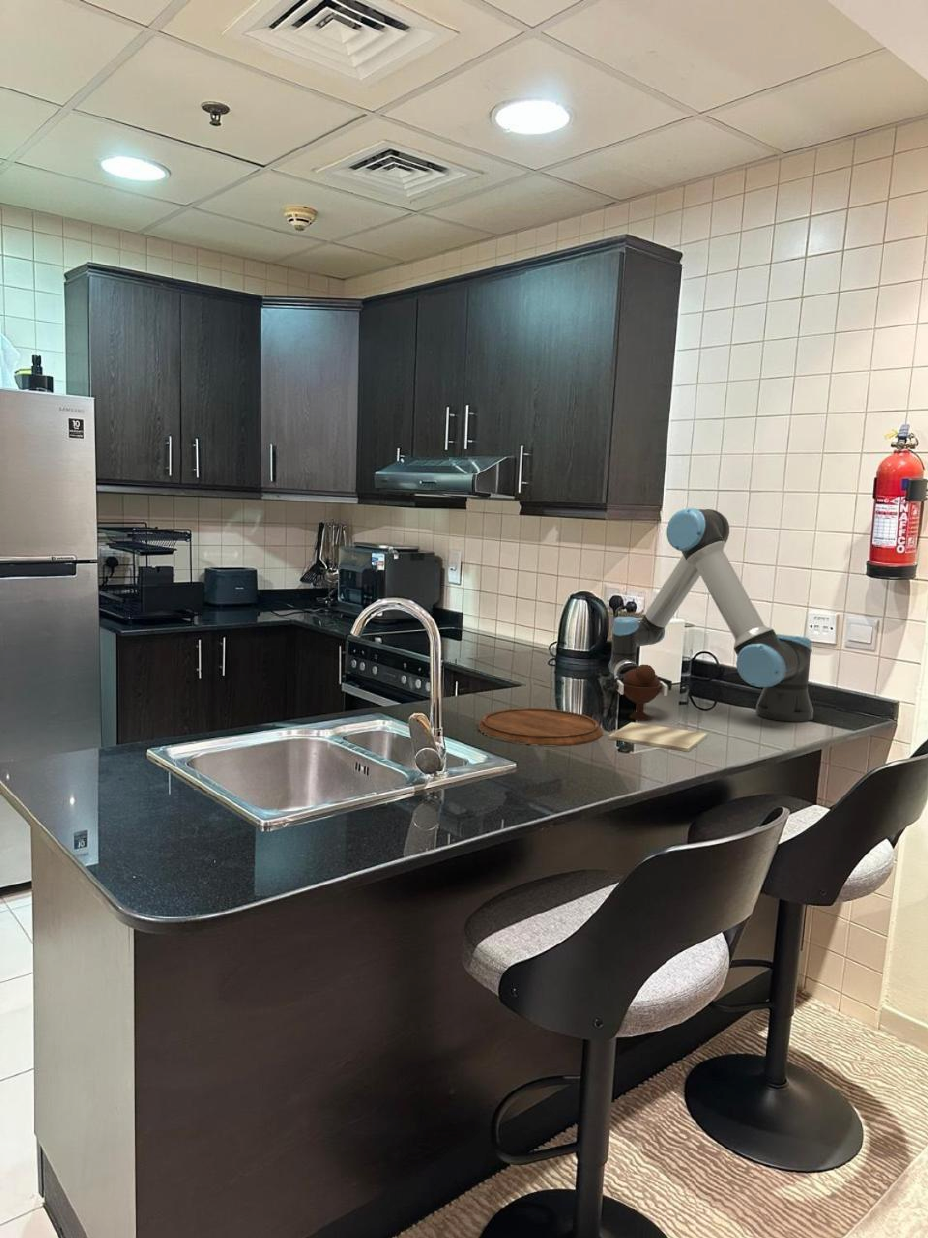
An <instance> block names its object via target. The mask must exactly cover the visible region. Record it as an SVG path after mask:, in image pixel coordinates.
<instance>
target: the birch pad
mask: <svg viewBox="0 0 928 1238" xmlns="http://www.w3.org/2000/svg"><path fill="white" fill-rule="evenodd" d="M706 738H708V733H706V732H700V731H692V730H687V729H686V730H685V729H680V728H673V727H665V726H659V725H653V724H646V723H641V722H633V721H631V722H629V723H628V724H626V725H624V726H623V727H620V729H617V730H616V731H614V732H612V733H611V734H608V736H607V739H608V740H612V741H613V740H614V741H619V742H626V743H632V744H639V745H645V746H650V747H656V748H657V747H658V748H663V749H669V750H676V751H682V752H690V751H691V750H692V749H694V748H695V747H697V745H699V744H700V743H702V741H704V740H706Z"/></svg>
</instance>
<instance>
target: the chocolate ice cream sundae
mask: <svg viewBox="0 0 928 1238" xmlns="http://www.w3.org/2000/svg"><path fill="white" fill-rule="evenodd" d="M638 666H639V667H638V668H636V669H632V670H630V671H629V672H628V673H626V675H625V676H624V680H623V682H622V683H623V684H624V690H623V695H624V696H626V698H628V699H629V700H630V701H632V702H634V703H635V704H636V711H635V712H632V713H631V714H630V715H629V719H632V720H637V721H647V720H650V719H651V717H650V716H649V715H648V714H647V713H646V712H644V706H645V705H646V704H647V703H650V702H651V701H653V700H654V699H655V698H656V697H657V696H659V694H660V693H661V692H660V691H661V688H662V685H661V684H660V682H659V679H658V678H657V677H656V675H657V674H656V672H655V669H654V668H653V667H652V666H651V665H650V664H640V665H638Z"/></svg>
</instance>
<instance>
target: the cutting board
mask: <svg viewBox="0 0 928 1238" xmlns="http://www.w3.org/2000/svg"><path fill="white" fill-rule="evenodd" d="M478 727H479V729H481V730H482V731H483V732H484V733H486V734H489V735H491V736H493V737H500V738H503V739H506V740H509V741H514V742H519V743H529V744H538V745H557V746H556V747H570V746H579V745H585V744H589V743H593V742H595V741H597V740H599V739H601V738H602V737H603V734H604V731H603V729H602V727H601V725H600V724H599V722H598V721H597V720H596V719H595V718H592V717H590V716H588V715H585V714H582V713H578V712H573V711H568V710H562V709H561V710H560V709H555V708H554V709H553V708H541V707H540V708H538V707H536V708H535V707H530V708H529V707H528V708H527V707H523V708H522V707H520V708H518V707H517V708H508V709H501V710H495V711H491V712H489V713H486V714H485V715H484V716H483V717H482V718H481V719H480V721H479V722H478V723H477V728H478ZM558 745H559V746H558ZM560 745H561V746H560Z"/></svg>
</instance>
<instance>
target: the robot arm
mask: <svg viewBox="0 0 928 1238" xmlns="http://www.w3.org/2000/svg"><path fill="white" fill-rule="evenodd" d="M665 531H666V532H665V533H666V538H667V542H668V543H669V545H670V546H671V547H672V548H673V549H675V550H676V551H679V552H681V553H682V556H681V558H680V559H679V561H678V563H676V565H675V567H674V569H673V570H672V571H671V573H670V574H669V576H668V578H667V579H666V581H665V582H664V583H663V585H662V586H661V588H660V590H659V592H658V593H657V594H656V596H655V598H654V599H653V601H652V602H651V604H650V606H649V607H648V608H647V611H646V612H645V613H644V615H643V616H642V617H641V619H640V621H639V620H638V619H637V618H636V617H631V616H630V617H629V616H618V617H615V618H614V619H613V620H612V621H613V622H612V629H611V655H610V660H609V662H608V670H609V672H610V673H609V674H608V676H607V677H606V678H605V679H604V689H610V688H611V692H616V691H617V693H619V694H620V696H621V695H624V693H623V690H624V684H623V683H622V682H623V680H624V676H625V675H626V673H628V672H629V671H630V670H632V669H636V668H638V667H639V666H640V665H638V664H637V653H638V652H637V651H638V650H637V649H638V648H639V647H644V646H653V645H656V644H658V643H660V642H662V640H664V638H665V635H666V629H665V628H666V626H667V625H668V624H669V622H670V621H671V619H672V618H673V617H674V615H675V613H676V612H677V611H678V609H679V608H680V606H681V605H682V603H683V601H685V599H686V597H687V595H689V593H690V591H691V590H692V588H693V586H694V585H695V584H696V582H698V579H699V578H700V577H701V579H702V582H703V583H704V584H705V586H706V588H707V590H708V592H709V594H710V595H711V598H712V599H713V601H714V603H715V605H716V606H717V609H718V610H719V613H720V614H721V616H722V618H723V621H724V622H725V624H726V625H727V628H728V630H729V631H730V633H731V635H732V637H733V638H734V644H733V650H734V652H735V654H736V656H737V658H736V665H735V666H736V670H737V673H738V675H739V676H740V678H741V679H742V680H743V681H744V682H745V683H748V685H751V686H753V687H758V688H763V689H762V691H761V693H760V695H759V697H758V700H757V702H756V705H755V714H756V715H757V716H759V717H762V718H765V719H769V720H774V721H781V722H796V723H799V722H801V723H802V722H808V721H811V720H813V715H814V709H813V705H812V702H811V701H812V700H811V698H810V694H809V681H810V680H809V679H810V669H811V667H810V666H811V656H812V641H811V639H810V638H809V637H807V636H806V637H805V636H797V635H789V634H786V635H785V634H781V633H780V634H779V633H777V632H776V631H775V630H774V628H772V627H768V626H766V625H765V624H764V622H763V620H762V618H761V616H760V615H759V613H758V611H757V609H756V607H755V605H754V604H753V602H752V600H751V598H750V596H749V594H748V592H747V591H746V589H745V587H744V585H743V583H742V581H741V580H740V579H739V576H738V575H737V573H736V572H735V571H736V570H735V569H734V567H733V566H732V564H731V562H730V561H729V558H728V557H727V555H726V553H725V551H724V548H725V545H726V543H727V542H728V539H729V535H730V524H729V522H728V520H727V518H726V517H725V516H724V514H723V513H722V512H720V511H718V510H715V509H712V508H705V509H704V508H703V509H701V508H695V507H688V508H684V509H681V510H678V511H677V512H675V513H674V514H673V515H672V516H671V517H670V518H669V521H668V523H667V526H666V530H665ZM655 675H656V677H657V678H658V679H659V682H660V684H661V685H662V688H661V691H660V693H661V694H662V695H663V696H665V697H666V696H668V692H669V691H672V685H673V681H672V680H670V679H667V678H664V677H661V676H658V675H657V674H655Z"/></svg>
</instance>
